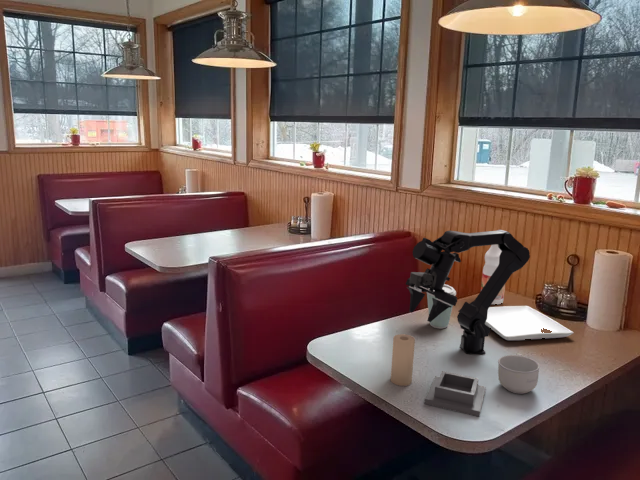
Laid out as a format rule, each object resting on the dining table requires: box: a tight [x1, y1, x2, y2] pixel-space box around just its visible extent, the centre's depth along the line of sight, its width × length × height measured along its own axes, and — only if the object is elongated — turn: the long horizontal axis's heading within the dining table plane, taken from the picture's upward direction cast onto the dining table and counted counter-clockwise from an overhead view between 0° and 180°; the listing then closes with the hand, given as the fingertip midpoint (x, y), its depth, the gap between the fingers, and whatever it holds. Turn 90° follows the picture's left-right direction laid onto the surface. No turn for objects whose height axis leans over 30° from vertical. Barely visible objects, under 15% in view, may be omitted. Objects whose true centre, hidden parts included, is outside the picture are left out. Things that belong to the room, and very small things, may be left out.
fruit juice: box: [480, 244, 506, 305], centre depth 218 cm, size 9×9×28 cm
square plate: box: [485, 305, 574, 341], centre depth 193 cm, size 27×27×4 cm
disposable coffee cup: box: [426, 284, 457, 329], centre depth 191 cm, size 11×11×15 cm
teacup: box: [497, 353, 541, 395], centre depth 148 cm, size 14×11×8 cm
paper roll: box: [390, 333, 416, 387], centre depth 149 cm, size 6×6×13 cm
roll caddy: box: [424, 370, 487, 418], centre depth 141 cm, size 14×14×4 cm
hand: (419, 316), depth 160 cm, fingers open, 9 cm apart
